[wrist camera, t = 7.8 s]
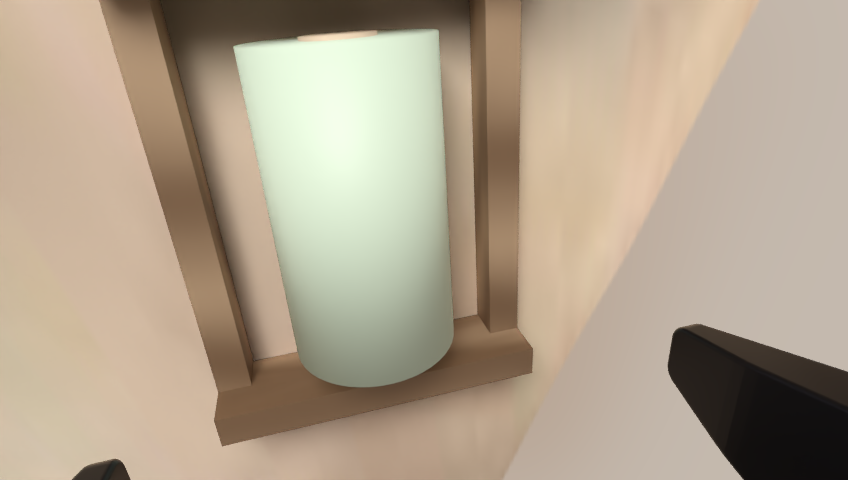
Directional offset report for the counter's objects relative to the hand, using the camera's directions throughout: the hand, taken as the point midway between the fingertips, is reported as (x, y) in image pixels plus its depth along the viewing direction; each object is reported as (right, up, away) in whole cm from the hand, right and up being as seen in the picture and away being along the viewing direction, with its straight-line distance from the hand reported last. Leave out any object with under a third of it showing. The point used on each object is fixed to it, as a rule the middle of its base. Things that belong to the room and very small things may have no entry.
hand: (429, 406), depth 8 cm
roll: (-3, +5, +11) cm, 12 cm away
